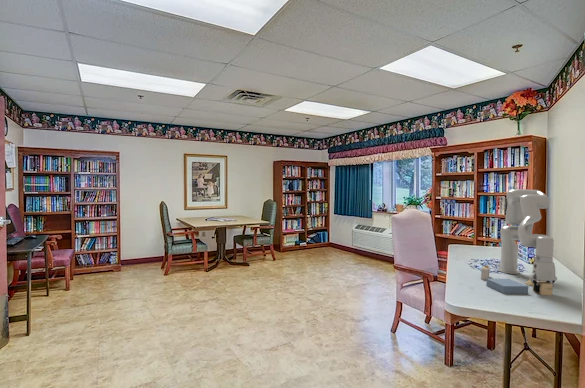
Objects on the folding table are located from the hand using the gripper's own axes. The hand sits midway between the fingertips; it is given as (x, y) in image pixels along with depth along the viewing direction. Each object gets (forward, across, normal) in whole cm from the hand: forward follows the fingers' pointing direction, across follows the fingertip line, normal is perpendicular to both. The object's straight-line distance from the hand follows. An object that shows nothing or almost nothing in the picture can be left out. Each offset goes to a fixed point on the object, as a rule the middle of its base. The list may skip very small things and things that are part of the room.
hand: (542, 291), depth 178 cm
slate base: (+1, -16, +6) cm, 17 cm away
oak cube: (+1, 0, 0) cm, 1 cm away
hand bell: (+1, +8, +15) cm, 17 cm away
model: (+2, -13, +29) cm, 32 cm away
